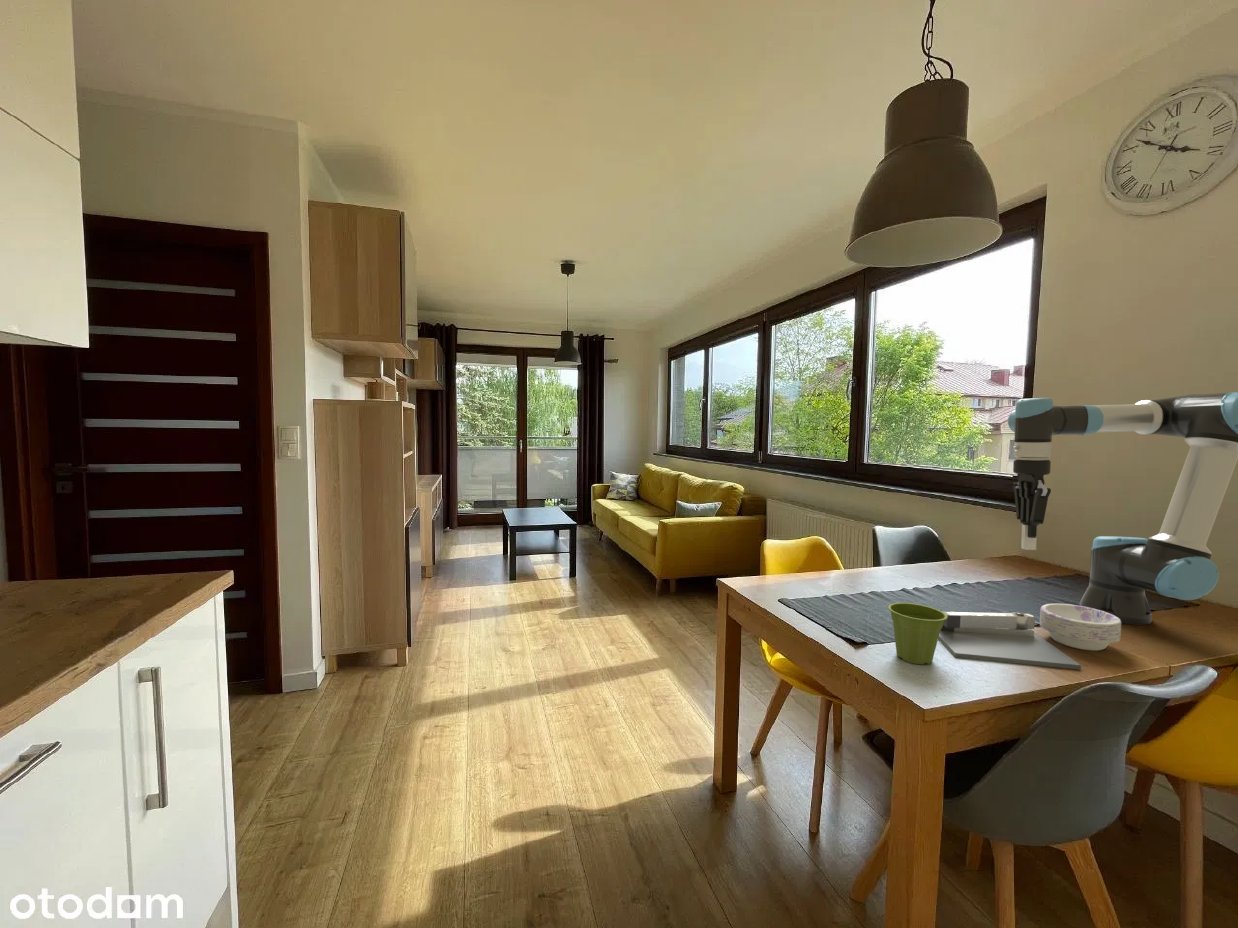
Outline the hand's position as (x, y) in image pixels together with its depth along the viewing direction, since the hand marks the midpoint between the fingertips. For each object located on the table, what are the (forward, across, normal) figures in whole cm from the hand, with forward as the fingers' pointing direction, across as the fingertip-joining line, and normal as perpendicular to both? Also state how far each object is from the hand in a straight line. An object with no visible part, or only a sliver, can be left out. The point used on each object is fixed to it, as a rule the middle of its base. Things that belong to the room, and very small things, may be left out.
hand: (1028, 549), depth 136 cm
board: (+22, +11, -12) cm, 27 cm away
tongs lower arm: (+21, +5, -12) cm, 24 cm away
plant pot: (+21, +24, -34) cm, 47 cm away
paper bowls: (+23, +5, +9) cm, 25 cm away
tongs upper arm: (+19, +6, -12) cm, 23 cm away
